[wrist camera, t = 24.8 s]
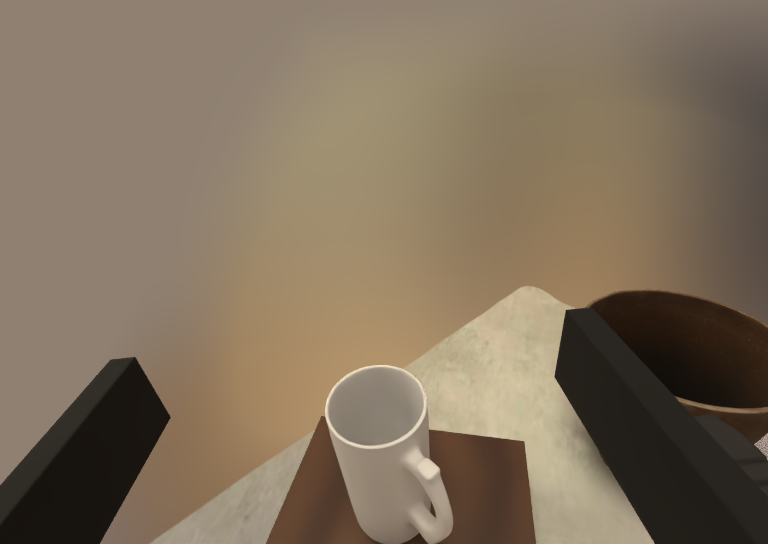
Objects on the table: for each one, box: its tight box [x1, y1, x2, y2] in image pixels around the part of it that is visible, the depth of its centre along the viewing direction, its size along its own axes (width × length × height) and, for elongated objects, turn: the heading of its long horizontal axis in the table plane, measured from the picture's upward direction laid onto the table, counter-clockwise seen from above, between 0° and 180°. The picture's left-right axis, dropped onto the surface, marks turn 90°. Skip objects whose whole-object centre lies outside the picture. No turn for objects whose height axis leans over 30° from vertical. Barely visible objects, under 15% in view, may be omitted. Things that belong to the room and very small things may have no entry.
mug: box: [325, 365, 453, 544], centre depth 26 cm, size 10×7×12 cm, turn 36°
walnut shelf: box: [266, 416, 536, 544], centre depth 32 cm, size 20×14×7 cm
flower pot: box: [585, 290, 768, 467], centre depth 34 cm, size 15×15×16 cm
